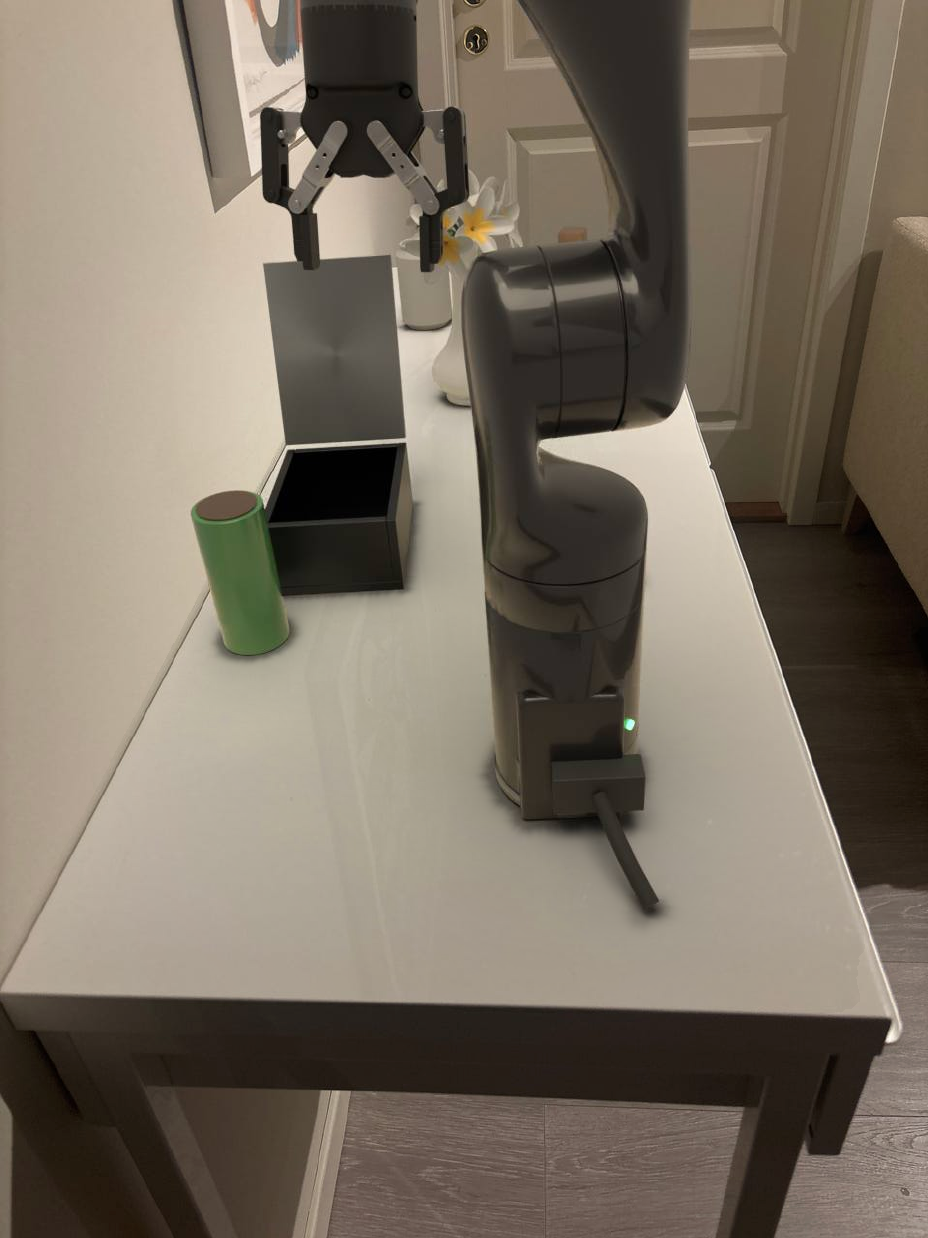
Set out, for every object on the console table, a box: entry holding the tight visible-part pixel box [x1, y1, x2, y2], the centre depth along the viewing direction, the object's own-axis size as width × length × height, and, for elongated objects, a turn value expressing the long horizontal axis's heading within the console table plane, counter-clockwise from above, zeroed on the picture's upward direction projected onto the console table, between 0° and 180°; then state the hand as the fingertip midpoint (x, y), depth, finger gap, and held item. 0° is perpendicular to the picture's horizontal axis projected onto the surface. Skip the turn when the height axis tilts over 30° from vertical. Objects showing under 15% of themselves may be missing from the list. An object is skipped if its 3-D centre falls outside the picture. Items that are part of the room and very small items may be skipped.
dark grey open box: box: [264, 441, 414, 596], centre depth 88 cm, size 16×12×7 cm
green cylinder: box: [190, 489, 291, 656], centre depth 75 cm, size 5×5×12 cm
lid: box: [262, 253, 407, 446], centre depth 90 cm, size 16×12×1 cm
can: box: [395, 237, 453, 331], centre depth 141 cm, size 8×8×12 cm
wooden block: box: [557, 226, 588, 243], centre depth 155 cm, size 4×4×8 cm
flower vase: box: [405, 169, 524, 407], centre depth 111 cm, size 13×18×25 cm
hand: (369, 270), depth 69 cm, fingers open, 8 cm apart
